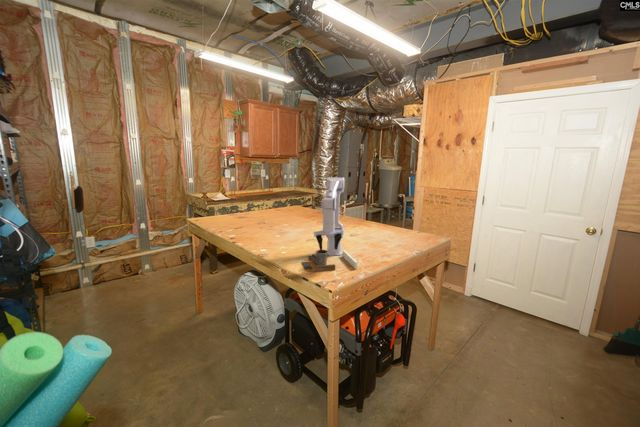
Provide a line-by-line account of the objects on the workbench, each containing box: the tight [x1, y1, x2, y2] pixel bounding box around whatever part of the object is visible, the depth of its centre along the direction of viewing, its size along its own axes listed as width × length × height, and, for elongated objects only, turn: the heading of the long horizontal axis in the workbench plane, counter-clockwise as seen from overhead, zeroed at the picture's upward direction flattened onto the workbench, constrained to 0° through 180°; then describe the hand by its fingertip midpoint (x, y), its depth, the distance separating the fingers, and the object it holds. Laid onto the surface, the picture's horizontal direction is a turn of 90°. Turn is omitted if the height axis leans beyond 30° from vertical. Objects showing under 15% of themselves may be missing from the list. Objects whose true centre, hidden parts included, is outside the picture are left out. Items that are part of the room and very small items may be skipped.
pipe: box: [311, 249, 329, 266], centre depth 145 cm, size 6×13×8 cm, turn 32°
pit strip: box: [301, 261, 313, 271], centre depth 144 cm, size 10×4×1 cm, turn 14°
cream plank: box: [342, 249, 358, 270], centre depth 149 cm, size 20×1×4 cm, turn 14°
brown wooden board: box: [308, 254, 336, 272], centre depth 146 cm, size 17×10×2 cm, turn 14°
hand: (328, 249), depth 139 cm, fingers open, 7 cm apart
